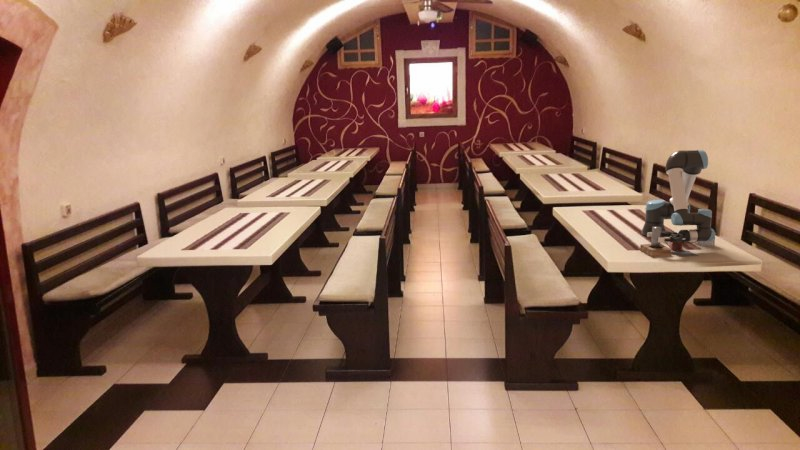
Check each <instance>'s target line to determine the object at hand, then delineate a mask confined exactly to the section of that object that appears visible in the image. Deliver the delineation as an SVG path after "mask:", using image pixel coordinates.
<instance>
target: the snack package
mask: <svg viewBox="0 0 800 450" xmlns="http://www.w3.org/2000/svg"><path fill="white" fill-rule="evenodd" d="M665 243H666V244H667V246H669V247H668V248H670V249H671V251H682V250H683V242H676V243H673V242H665Z"/></svg>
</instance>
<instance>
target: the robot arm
mask: <svg viewBox="0 0 800 450" xmlns="http://www.w3.org/2000/svg"><path fill="white" fill-rule="evenodd" d="M708 165H709V157H708V153H707V152H706V151H705V150H703V149H696V150H693V149H692V150H691V149H690V150H682V149H681V150H677V151H675V152H672V154H670V155H669V157H668V159H667V160H666V163H665V174H666V175H668V181H669V187H670V192H671V193H670V194H671V197H670V199H669V201H666V200H664V199H651V200H648V201H647V202H646V203H645V217H644V224H643V227H642V230H641V235H642V236H645V237H647V238H652V227H661V238H658V242H660V243H666V242H673V243H676V242H682V243H691V244H692V243H693V242H699V241H711V240H713V239H714V238H715V239H716V234H715V233H716V232H715V230H714V228H712V218H713V211H712V210H711V209H708V208H699V209H697V212H691V204H690V203H689V201H688V200H689V197H690V194H691V191H692V189H693V186H694V184H695V181H696V178H697V176H698V175H700V174H701V173H702V170H704V169H707V168H708ZM665 220H670V221H671V224H672V225H673V226H680V227H681V226H696V228H693V229H692V228H689V229H680V230H679V232H676V231H674V230H673V231H668V230H667V231H666V228H665V223H664V222H665Z"/></svg>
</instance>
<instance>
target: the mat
mask: <svg viewBox="0 0 800 450" xmlns="http://www.w3.org/2000/svg"><path fill="white" fill-rule="evenodd" d="M671 254H673V255H675V256H677V257H679V258H687V257H688V258H690V257H699V255H698V254H696V253H695V252H692V251H690V250H671Z"/></svg>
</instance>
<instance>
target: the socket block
mask: <svg viewBox="0 0 800 450" xmlns="http://www.w3.org/2000/svg"><path fill="white" fill-rule="evenodd" d="M639 249H640V250H639V251H640V252H641V253H643V252H644V253H643V254H646V256H649V257H650V258H652V257H653V258H654V257H665V256H666V257H668V256H672V253H671V251H672V249H671V248H670V247H667V246H665V245H664V244H662V243H660V248H651V243H643V244H642V243H640V247H639Z"/></svg>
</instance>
